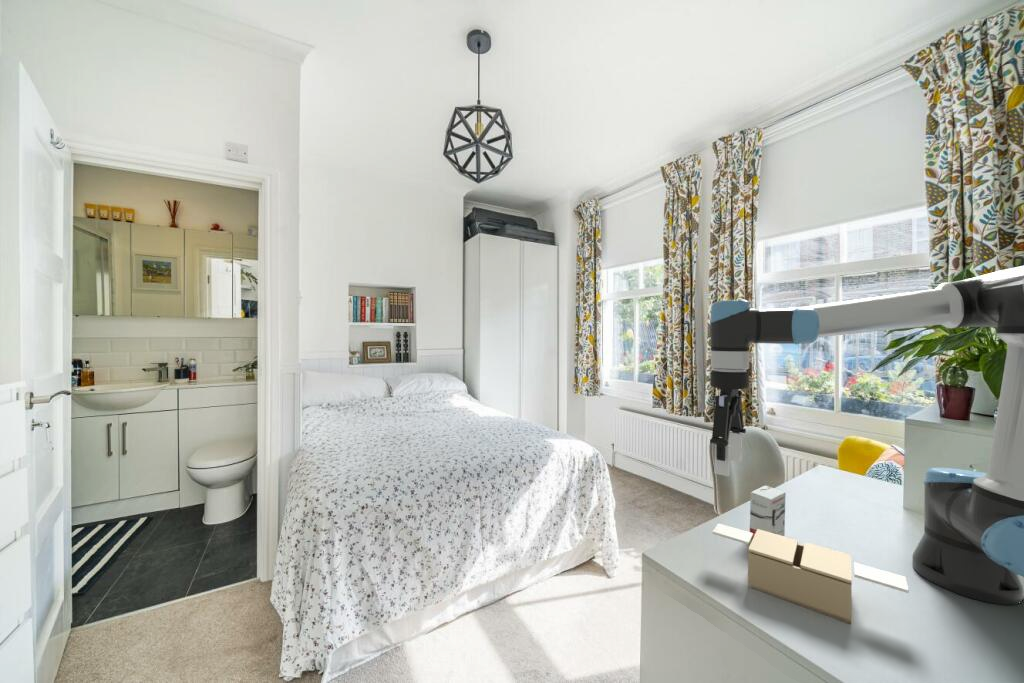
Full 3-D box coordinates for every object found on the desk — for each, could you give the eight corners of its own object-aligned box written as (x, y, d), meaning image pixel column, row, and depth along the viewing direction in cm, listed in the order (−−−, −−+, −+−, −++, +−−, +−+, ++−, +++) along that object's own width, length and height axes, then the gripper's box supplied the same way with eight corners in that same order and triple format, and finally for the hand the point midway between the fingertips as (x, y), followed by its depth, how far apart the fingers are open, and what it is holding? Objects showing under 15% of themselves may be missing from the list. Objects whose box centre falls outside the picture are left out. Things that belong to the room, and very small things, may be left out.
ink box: (770, 546, 95) (770, 498, 95) (748, 537, 99) (749, 491, 99) (785, 536, 100) (786, 490, 99) (764, 528, 104) (765, 484, 103)
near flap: (800, 567, 74) (800, 564, 74) (804, 544, 82) (804, 542, 82) (910, 601, 65) (910, 598, 65) (903, 572, 73) (903, 569, 73)
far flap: (797, 542, 83) (797, 540, 83) (792, 564, 75) (792, 562, 75) (721, 520, 93) (721, 518, 93) (709, 538, 85) (709, 536, 85)
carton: (850, 592, 78) (851, 558, 78) (851, 624, 70) (851, 585, 69) (757, 562, 88) (757, 532, 88) (747, 586, 80) (748, 552, 80)
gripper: (723, 365, 98) (723, 451, 98) (695, 373, 80) (694, 478, 81) (758, 367, 93) (757, 457, 94) (736, 375, 75) (735, 487, 76)
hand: (728, 467), depth 87 cm, fingers open, 11 cm apart
